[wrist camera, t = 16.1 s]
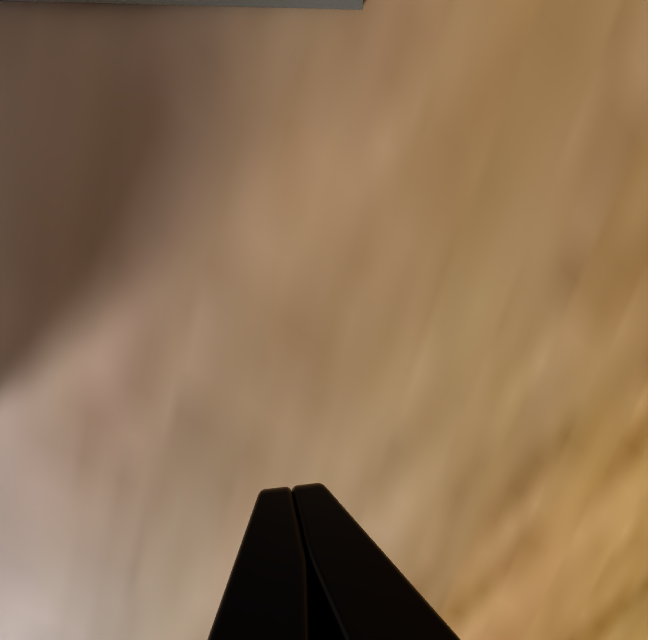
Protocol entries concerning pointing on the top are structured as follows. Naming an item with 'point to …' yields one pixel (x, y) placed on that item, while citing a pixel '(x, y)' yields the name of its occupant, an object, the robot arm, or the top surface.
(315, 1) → the mat
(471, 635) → the top surface
